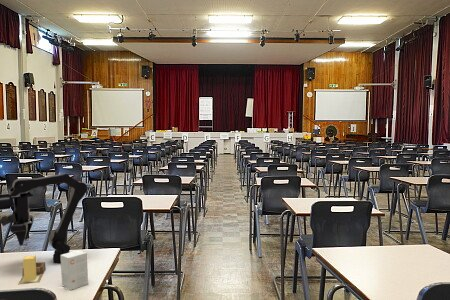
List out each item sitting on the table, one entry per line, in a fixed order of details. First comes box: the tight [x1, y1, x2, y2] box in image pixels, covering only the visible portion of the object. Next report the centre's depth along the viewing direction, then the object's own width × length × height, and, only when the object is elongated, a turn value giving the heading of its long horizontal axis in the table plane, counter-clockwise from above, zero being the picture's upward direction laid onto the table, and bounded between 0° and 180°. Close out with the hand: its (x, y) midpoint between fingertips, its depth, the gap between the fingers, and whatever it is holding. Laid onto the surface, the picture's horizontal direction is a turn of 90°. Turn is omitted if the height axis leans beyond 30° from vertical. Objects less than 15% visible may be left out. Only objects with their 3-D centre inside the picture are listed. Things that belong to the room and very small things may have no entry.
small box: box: [60, 249, 89, 291], centre depth 163 cm, size 8×6×13 cm
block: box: [22, 255, 37, 281], centre depth 168 cm, size 4×4×9 cm
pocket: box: [22, 261, 47, 277], centre depth 177 cm, size 8×8×3 cm
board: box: [17, 272, 45, 286], centre depth 172 cm, size 8×17×1 cm, turn 15°
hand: (23, 242), depth 181 cm, fingers open, 9 cm apart
